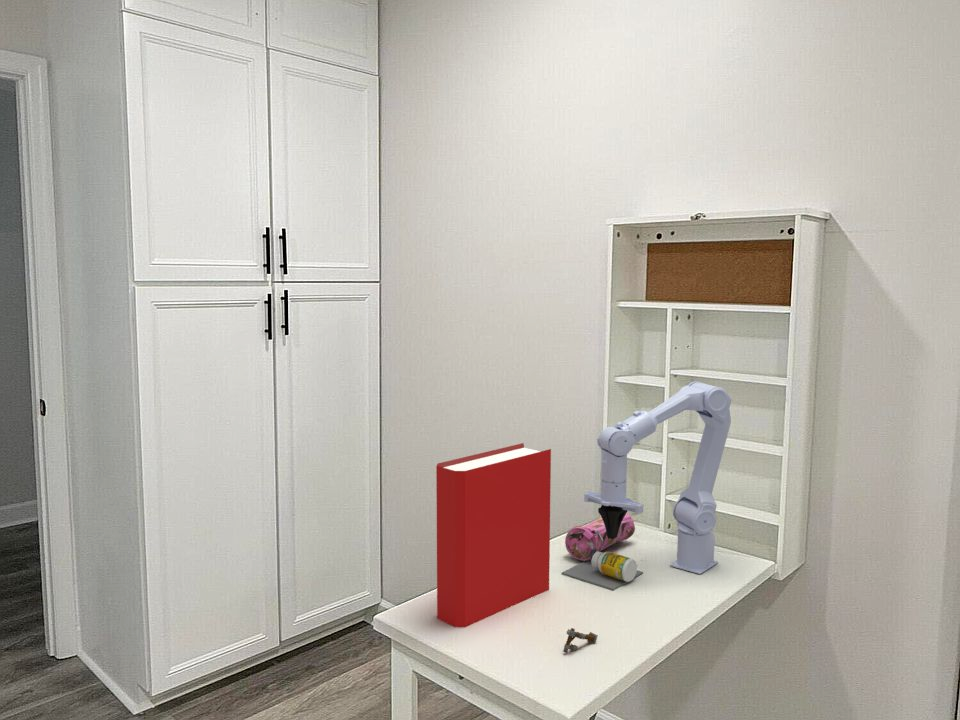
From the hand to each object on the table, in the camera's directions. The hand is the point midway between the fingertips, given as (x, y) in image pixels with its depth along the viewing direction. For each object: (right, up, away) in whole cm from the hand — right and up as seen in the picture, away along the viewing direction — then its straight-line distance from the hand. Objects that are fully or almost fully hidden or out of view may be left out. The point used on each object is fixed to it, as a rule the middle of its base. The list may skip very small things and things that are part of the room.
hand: (612, 537), depth 183 cm
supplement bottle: (+4, -7, -3) cm, 9 cm away
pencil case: (0, -7, +17) cm, 19 cm away
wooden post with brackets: (-11, -14, -33) cm, 37 cm away
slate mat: (-2, -9, +3) cm, 10 cm away
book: (-28, -11, -13) cm, 32 cm away
